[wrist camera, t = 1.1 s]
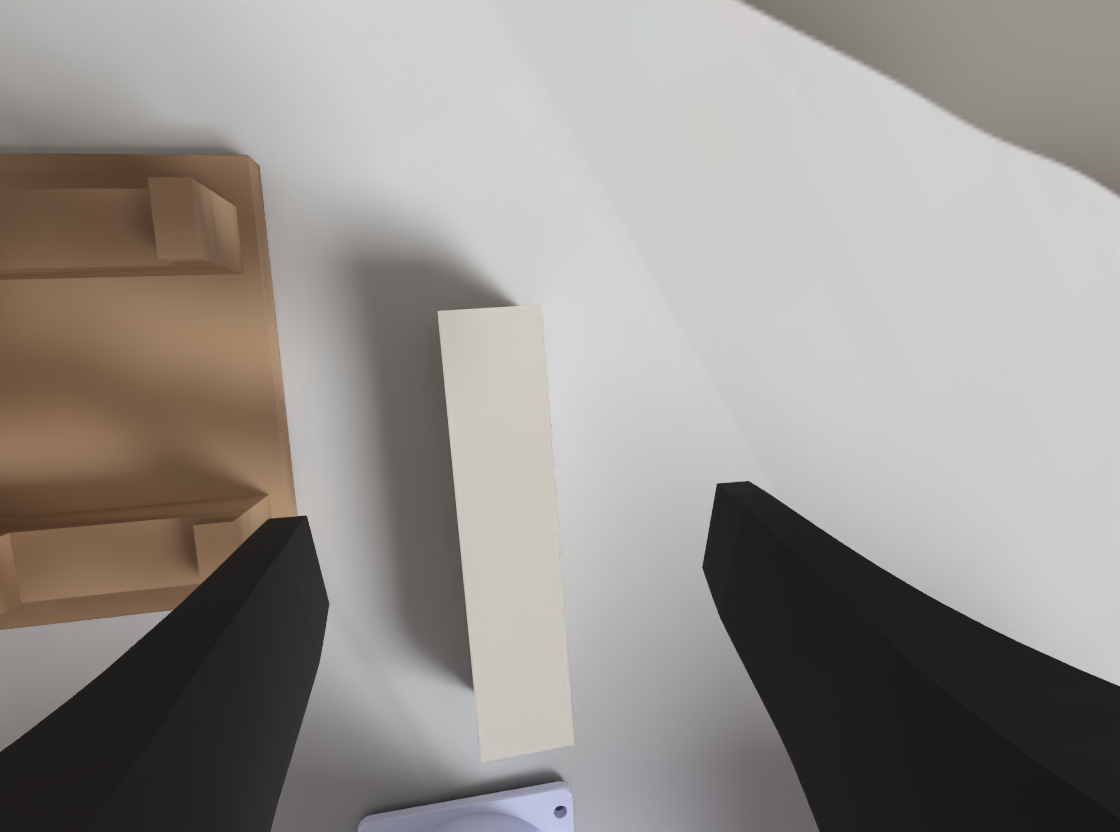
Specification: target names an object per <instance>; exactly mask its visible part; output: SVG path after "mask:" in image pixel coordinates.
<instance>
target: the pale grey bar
mask: <svg viewBox="0 0 1120 832" xmlns="http://www.w3.org/2000/svg"><path fill="white" fill-rule="evenodd" d="M437 312H438V323H439V333H440V343H441V354H442V364H443V374H444V385H445V395H446V405H447V416H448V426H449V437H450V447H451V457H452V468H453V478H454V488H455V499H456V509H457V519H458V530H459V540H460V550H461V561H462V571H463V581H464V592H465V602H466V612H467V623H468V633H469V643H470V654H471V664H472V674H473V685H474V695H475V705H476V716H477V726H478V736H479V747H480V757H481V763H484V762H489V761H494V760H500V759H505V758H510V757H515V756H521V755H526V754H531V753H536V752H541V751H547V750H552V749H557V748H562V747H568V746H573V745H575V743H574V730H573V716H572V703H571V689H570V676H569V662H568V649H567V635H566V622H565V608H564V595H563V581H562V568H561V554H560V541H559V527H558V514H557V501H556V487H555V474H554V460H553V447H552V433H551V420H550V406H549V393H548V379H547V366H546V352H545V339H544V325H543V312H542V305H527V306H510V307H494V308H477V309H460V310H444V311H437Z"/></svg>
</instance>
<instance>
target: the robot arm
mask: <svg viewBox="0 0 1120 832" xmlns="http://www.w3.org/2000/svg"><path fill="white" fill-rule="evenodd" d="M702 568H703V571H704V574H705V577H706V580H707V583H708V585H709V588H710V591H711V594H712V597H713V600H714V602H715V605H716V608H717V610H718V613H719V616H720V618H721V620H722V622H723V624H724V626H725V629H726V631H727V633H728V635H729V637H730V639H731V641H732V643H733V645H734V647H735V649H736V651H737V653H738V654H739V656H740V658H741V660H742V662H743V664H744V666H745V668H746V670H747V672H748V674H749V676H750V678H751V680H752V682H753V684H754V686H755V688H756V690H757V692H758V694H759V696H760V698H761V699H762V701H763V703H764V705H765V707H766V709H767V711H768V713H769V715H770V717H771V719H772V721H773V723H774V725H775V727H776V729H777V731H778V733H779V735H780V737H781V739H782V741H783V743H784V746H785V748H786V750H787V752H788V754H789V756H790V758H791V761H792V763H793V765H794V768H795V770H796V773H797V775H798V778H799V780H800V783H801V785H802V788H803V790H804V793H805V795H806V798H807V801H808V803H809V806H810V808H811V811H812V813H813V816H814V818H815V821H816V823H817V826H818V828H819V831H820V832H1120V686H1118V685H1115V684H1113V683H1110V682H1108V681H1106V680H1103V679H1101V678H1098V677H1096V676H1093V675H1091V674H1089V673H1086V672H1084V671H1082V670H1079V669H1077V668H1075V667H1073V666H1070V665H1068V664H1066V663H1064V662H1061V661H1059V660H1057V659H1055V658H1053V657H1050V656H1048V655H1046V654H1044V653H1041V652H1039V651H1037V650H1035V649H1033V648H1030V647H1028V646H1026V645H1024V644H1022V643H1019V642H1017V641H1015V640H1013V639H1011V638H1009V637H1007V636H1005V635H1003V634H1001V633H999V632H997V631H995V630H993V629H991V628H989V627H987V626H985V625H983V624H981V623H979V622H977V621H975V620H973V619H971V618H969V617H967V616H966V615H964V614H962V613H960V612H958V611H956V610H954V609H952V608H950V607H948V606H946V605H944V604H942V603H941V602H939V601H937V600H935V599H933V598H932V597H930V596H928V595H926V594H924V593H923V592H921V591H919V590H917V589H916V588H914V587H912V586H911V585H909V584H907V583H906V582H904V581H902V580H901V579H899V578H897V577H896V576H894V575H892V574H891V573H889V572H887V571H886V570H884V569H882V568H880V567H879V566H877V565H876V564H874V563H872V562H871V561H869V560H868V559H866V558H865V557H863V556H861V555H860V554H858V553H857V552H855V551H854V550H852V549H850V548H849V547H847V546H846V545H844V544H843V543H841V542H840V541H838V540H837V539H835V538H834V537H832V536H831V535H829V534H828V533H826V532H825V531H823V530H822V529H820V528H819V527H817V526H816V525H814V524H813V523H811V522H810V521H808V520H807V519H805V518H804V517H802V516H801V515H800V514H798V513H797V512H795V511H794V510H792V509H791V508H789V507H788V506H786V505H785V504H783V503H782V502H780V501H779V500H777V499H776V498H774V497H773V496H771V495H770V494H768V493H767V492H765V491H764V490H762V489H761V488H759V487H757V486H756V485H754V484H752V483H751V482H749V481H745V482H732V483H719V484H717V487H716V493H715V498H714V504H713V510H712V516H711V521H710V527H709V533H708V538H707V544H706V550H705V556H704V561H703V567H702ZM328 609H329V601H328V597H327V593H326V589H325V585H324V581H323V577H322V573H321V569H320V566H319V562H318V558H317V554H316V550H315V546H314V542H313V538H312V534H311V530H310V526H309V522H308V519H307V516H295V517H282V518H269V519H267V520H266V521H265V522H264V523H263V524H262V525H261V526H260V527H259V528H258V529H257V530H256V531H255V532H254V533H253V534H252V535H251V536H250V537H249V538H247V539H246V540H245V541H244V542H243V543H242V544H241V545H240V546H239V547H238V548H237V549H236V550H235V551H234V552H233V553H232V554H231V555H230V556H229V557H228V558H227V559H226V560H225V561H224V562H223V563H222V564H221V565H220V566H219V567H218V568H217V569H216V570H215V571H214V572H213V573H212V574H211V575H210V576H209V577H208V578H207V579H206V580H205V581H203V582H202V583H201V584H200V585H199V586H198V587H197V588H196V589H195V590H194V591H193V592H192V593H191V594H190V595H189V596H188V597H187V598H186V599H185V600H184V601H183V602H181V603H180V604H179V605H178V606H177V607H176V608H175V609H174V610H173V611H172V612H171V613H170V614H169V615H168V616H166V617H165V618H164V619H163V620H162V621H161V622H160V623H158V624H157V625H156V626H155V627H154V628H153V629H152V630H151V631H149V632H148V633H147V634H146V635H145V636H144V637H143V638H141V639H140V640H139V641H138V642H137V643H136V644H135V645H133V646H132V647H131V648H130V649H129V650H128V651H127V652H126V653H124V654H123V655H122V656H121V657H120V658H119V659H118V660H116V661H115V662H114V663H113V664H112V665H111V666H110V667H109V668H107V669H106V670H105V671H104V672H103V673H101V674H100V675H99V676H98V677H97V678H95V679H94V680H93V681H92V682H91V683H89V684H88V685H87V686H86V687H84V688H83V689H82V690H81V691H79V692H78V693H77V694H76V695H74V696H73V697H72V698H71V699H69V700H68V701H67V702H66V703H64V704H63V705H62V706H60V707H59V708H58V709H57V710H55V711H54V712H53V713H51V714H50V715H49V716H47V717H46V718H45V719H44V720H42V721H41V722H40V723H38V724H37V725H36V726H34V727H33V728H32V729H31V730H29V731H28V732H27V733H25V734H24V735H23V736H21V737H20V738H19V739H17V740H16V741H15V742H13V743H12V744H11V745H9V746H8V747H7V748H5V749H4V750H3V751H1V752H0V832H270V831H271V827H272V823H273V819H274V815H275V811H276V807H277V804H278V800H279V797H280V794H281V790H282V787H283V784H284V780H285V777H286V774H287V770H288V767H289V764H290V760H291V757H292V754H293V750H294V747H295V744H296V740H297V737H298V734H299V730H300V727H301V724H302V720H303V717H304V714H305V710H306V707H307V704H308V700H309V697H310V693H311V690H312V687H313V683H314V680H315V676H316V673H317V669H318V666H319V662H320V657H321V651H322V646H323V640H324V635H325V628H326V622H327V615H328ZM558 806H564V807H563V809H561V810H555V809H556V807H558ZM357 832H574V820H573V800H572V794H571V790H570V787H569V785H568V784H567V783H565V782H552V783H547V784H541V785H536V786H530V787H524V788H519V789H513V790H508V791H502V792H496V793H491V794H485V795H480V796H474V797H469V798H463V799H457V800H452V801H446V802H441V803H435V804H429V805H424V806H418V807H413V808H407V809H401V810H396V811H390V812H385V813H379V814H373V815H369V816H367V817H365V818H364V819H362V820H361V822H360V823H359V825H358V830H357Z"/></svg>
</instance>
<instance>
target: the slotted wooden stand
mask: <svg viewBox="0 0 1120 832" xmlns="http://www.w3.org/2000/svg"><path fill="white" fill-rule="evenodd" d="M295 516H297V510H296V501H295V492H294V482H293V473H292V464H291V455H290V445H289V436H288V427H287V418H286V408H285V399H284V390H283V381H282V371H281V362H280V353H279V344H278V334H277V325H276V316H275V307H274V297H273V288H272V279H271V270H270V260H269V251H268V242H267V232H266V223H265V214H264V205H263V195H262V186H261V177H260V168H259V165H258V164H257V163H256V162H255V161H254V160H253V159H251V158H250V157H249V156H248V155H121V154H0V630H3V629H12V628H20V627H29V626H38V625H47V624H55V623H64V622H73V621H81V620H90V619H99V618H108V617H116V616H125V615H134V614H142V613H151V612H160V611H169V610H174V609H175V608H176V607H177V606H178V605H179V604H180V603H181V602H183V601H184V600H185V599H186V598H187V597H188V596H189V595H190V594H191V593H192V592H193V591H194V590H195V589H196V588H197V587H198V586H199V585H200V584H201V583H202V582H203V581H205V580H206V579H207V578H208V577H209V576H210V575H211V574H212V573H213V572H214V571H215V570H216V569H217V568H218V567H219V566H220V565H221V564H222V563H223V562H224V561H225V560H226V559H227V558H228V557H229V556H230V555H231V554H232V553H233V552H234V551H235V550H236V549H237V548H238V547H239V546H240V545H241V544H242V543H243V542H244V541H245V540H246V539H247V538H249V537H250V536H251V535H252V534H253V533H254V532H255V531H256V530H257V529H258V528H259V527H260V526H261V525H262V524H263V523H264V522H265V521H266V520H267V519H269V518H282V517H295Z"/></svg>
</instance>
